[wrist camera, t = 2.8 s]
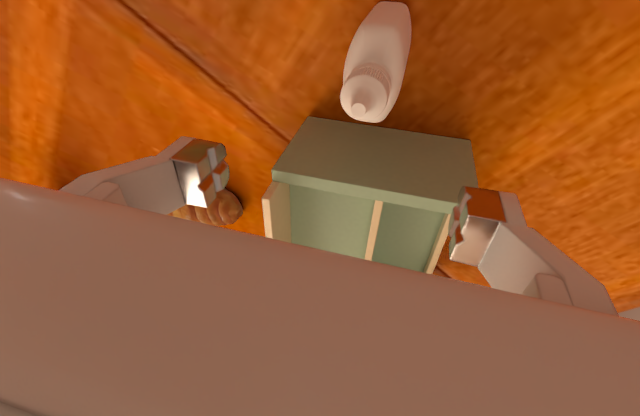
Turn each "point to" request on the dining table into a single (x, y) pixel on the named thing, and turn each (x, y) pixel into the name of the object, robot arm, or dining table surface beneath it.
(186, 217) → the pastry
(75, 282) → the robot arm
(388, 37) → the eye dropper bottle
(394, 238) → the spice rack
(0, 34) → the dining table surface
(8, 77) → the dining table surface
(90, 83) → the dining table surface
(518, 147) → the dining table surface
